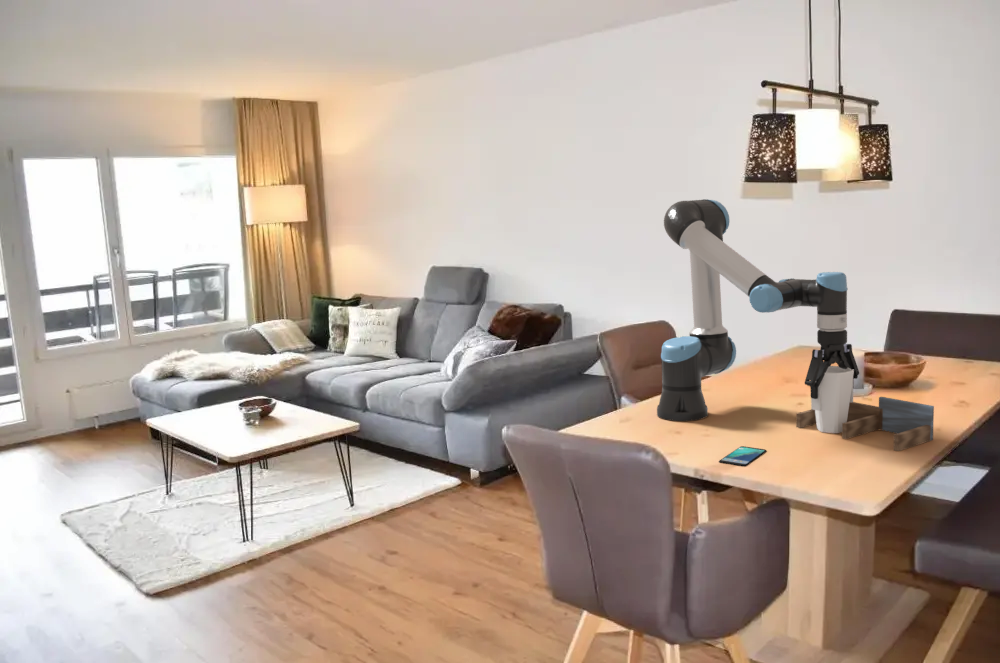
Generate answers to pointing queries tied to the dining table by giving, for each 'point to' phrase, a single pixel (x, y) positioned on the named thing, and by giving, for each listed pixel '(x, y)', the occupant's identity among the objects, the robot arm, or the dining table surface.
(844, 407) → the cup
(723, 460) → the smartphone
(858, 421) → the wooden divider rack
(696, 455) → the dining table surface
